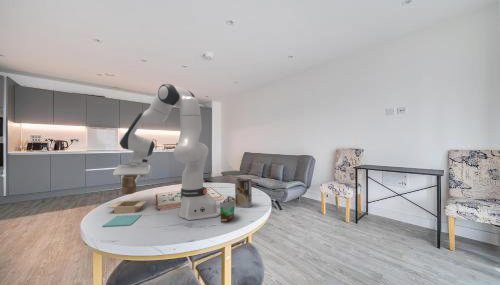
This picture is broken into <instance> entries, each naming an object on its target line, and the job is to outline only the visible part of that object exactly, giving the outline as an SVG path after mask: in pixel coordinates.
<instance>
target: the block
mask: <svg viewBox="0 0 500 285" xmlns="http://www.w3.org/2000/svg"><path fill="white" fill-rule="evenodd" d="M136 178H137V177H136V176H132V177H124V178H122V179H121V180H122V183H121V186H122V187H121V188H122V190H121V194H122V195H133V194H135V193H136V192H137V183H133V181H134V179H136Z"/></svg>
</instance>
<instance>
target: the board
mask: <svg viewBox="0 0 500 285" xmlns="http://www.w3.org/2000/svg"><path fill="white" fill-rule="evenodd" d="M141 217H142V214H127V215H126V214H123V215H116V216H115V217H113V218H112V219H110V220H109V221H107V222H106V223H104V224H103V225H102V228H105V227H106V228H107V227H111V228H112V227H126V226H129V227H130V226H132V225H133V224H134V223H136V221H138V220H139V219H140V218H141Z"/></svg>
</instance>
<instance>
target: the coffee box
mask: <svg viewBox="0 0 500 285" xmlns="http://www.w3.org/2000/svg"><path fill="white" fill-rule="evenodd" d="M252 181H253V180H252V179H251V178H239V177H238V178H237V179H235V181H234V183H235V184H234V186H235V188H234V191H235V193H234V194H235V197H234V198H235V200H236V204H235V207H238V206H241V208H248V207H249V208H250V207H251V206H252V205H253V204H252V203H253V202H252V195H253V194H252V190H253V189H252ZM251 204H252V205H251Z"/></svg>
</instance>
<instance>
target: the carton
mask: <svg viewBox="0 0 500 285" xmlns="http://www.w3.org/2000/svg"><path fill="white" fill-rule="evenodd" d="M147 202H148V200H124V201H123V200H122V201H117V202H115V203H113V204H111V205H110V206H108V209H111V208H112V209H113V214H134V213H137V211H138V210H140V209H142V207H143V205H145V204H146V203H147Z"/></svg>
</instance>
